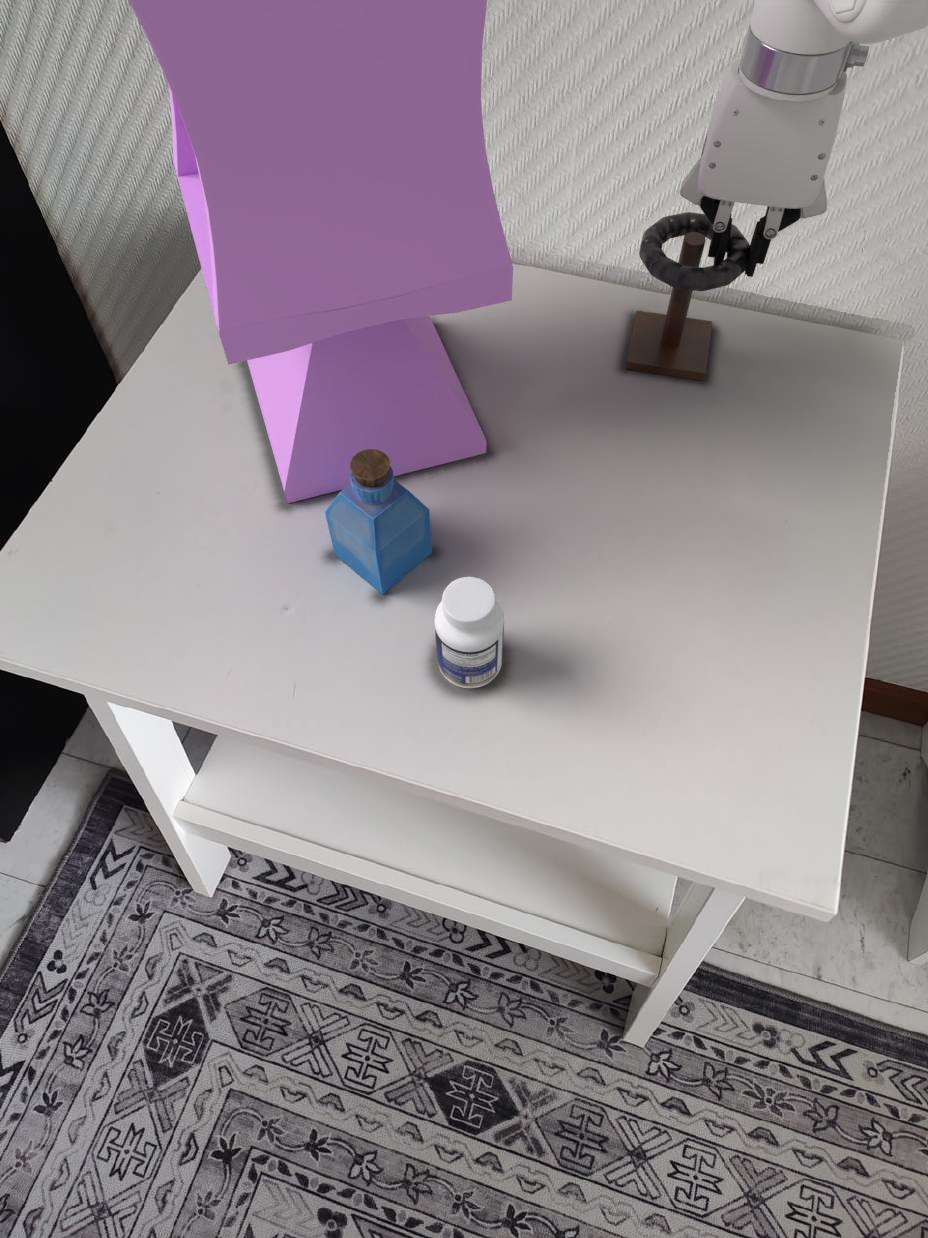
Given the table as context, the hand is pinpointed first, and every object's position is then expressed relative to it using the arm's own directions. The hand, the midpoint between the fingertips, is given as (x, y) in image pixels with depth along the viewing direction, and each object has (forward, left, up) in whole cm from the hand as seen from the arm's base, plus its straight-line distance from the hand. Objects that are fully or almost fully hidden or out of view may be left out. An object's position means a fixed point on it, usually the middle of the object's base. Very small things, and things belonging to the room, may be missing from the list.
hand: (733, 263), depth 83 cm
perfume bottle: (+26, +32, -11) cm, 43 cm away
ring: (+4, 0, +1) cm, 4 cm away
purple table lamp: (+33, +15, -11) cm, 38 cm away
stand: (+4, 0, -11) cm, 12 cm away
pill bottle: (+16, +41, -11) cm, 45 cm away
